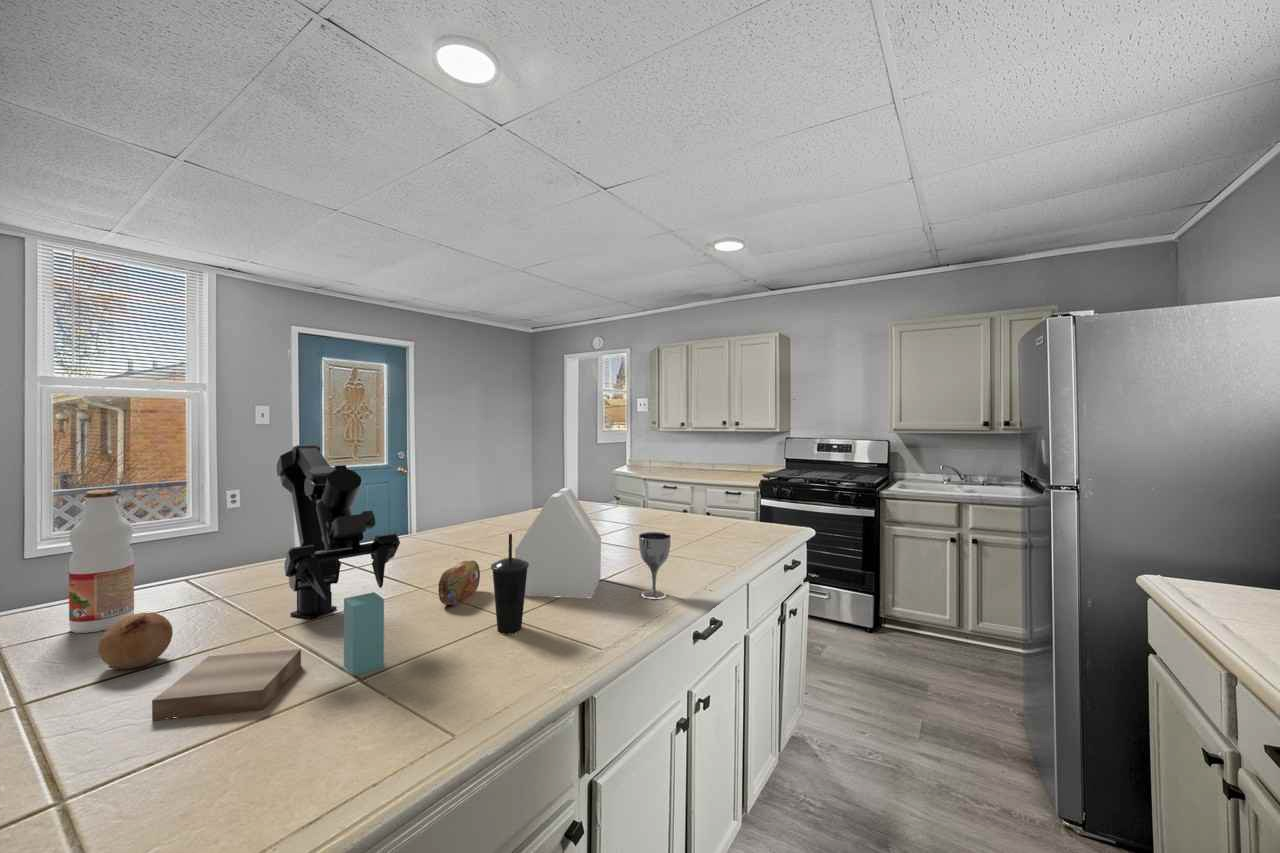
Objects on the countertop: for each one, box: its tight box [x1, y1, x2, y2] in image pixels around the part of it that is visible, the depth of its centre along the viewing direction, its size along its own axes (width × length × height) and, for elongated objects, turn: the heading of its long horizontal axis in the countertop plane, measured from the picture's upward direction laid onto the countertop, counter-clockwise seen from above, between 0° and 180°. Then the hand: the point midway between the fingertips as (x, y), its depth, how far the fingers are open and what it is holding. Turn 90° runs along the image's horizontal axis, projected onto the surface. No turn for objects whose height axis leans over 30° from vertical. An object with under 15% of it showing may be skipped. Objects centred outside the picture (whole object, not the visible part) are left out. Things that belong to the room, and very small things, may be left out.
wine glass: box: [638, 531, 672, 598], centre depth 130 cm, size 8×8×15 cm
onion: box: [97, 611, 174, 670], centre depth 91 cm, size 10×9×10 cm
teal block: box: [343, 591, 385, 677], centre depth 92 cm, size 5×5×12 cm
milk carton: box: [514, 487, 602, 598], centre depth 135 cm, size 19×15×25 cm
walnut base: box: [151, 648, 302, 721], centre depth 83 cm, size 14×14×3 cm
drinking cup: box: [490, 533, 529, 635], centre depth 108 cm, size 8×8×20 cm
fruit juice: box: [68, 489, 135, 634], centre depth 108 cm, size 9×9×28 cm
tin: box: [438, 560, 481, 607], centre depth 126 cm, size 15×3×8 cm, turn 168°
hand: (354, 592), depth 95 cm, fingers open, 9 cm apart
